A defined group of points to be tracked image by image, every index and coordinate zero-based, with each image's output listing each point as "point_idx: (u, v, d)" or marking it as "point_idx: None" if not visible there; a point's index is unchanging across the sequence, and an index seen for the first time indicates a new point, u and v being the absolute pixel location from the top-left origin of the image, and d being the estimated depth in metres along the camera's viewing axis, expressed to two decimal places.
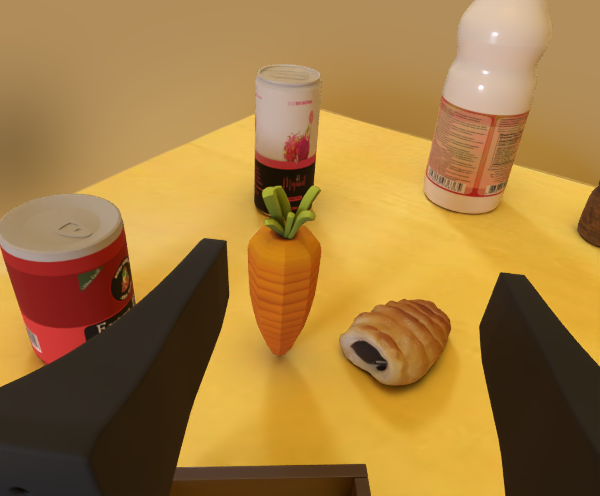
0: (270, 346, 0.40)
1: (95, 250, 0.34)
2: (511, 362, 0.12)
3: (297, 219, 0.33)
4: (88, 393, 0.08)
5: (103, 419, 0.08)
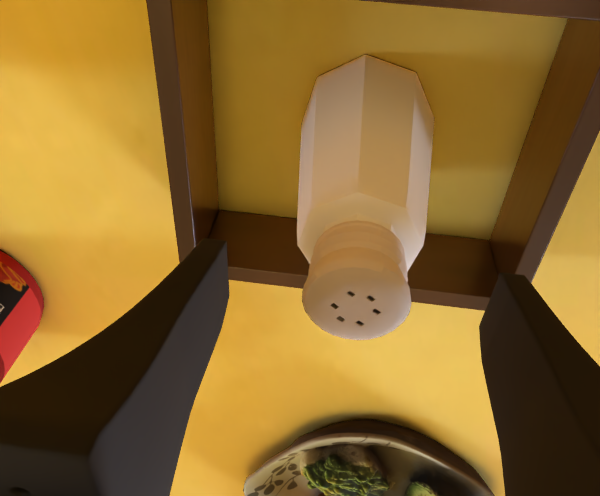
0: None
1: None
2: (511, 362, 0.12)
3: None
4: (88, 394, 0.08)
5: (103, 419, 0.08)
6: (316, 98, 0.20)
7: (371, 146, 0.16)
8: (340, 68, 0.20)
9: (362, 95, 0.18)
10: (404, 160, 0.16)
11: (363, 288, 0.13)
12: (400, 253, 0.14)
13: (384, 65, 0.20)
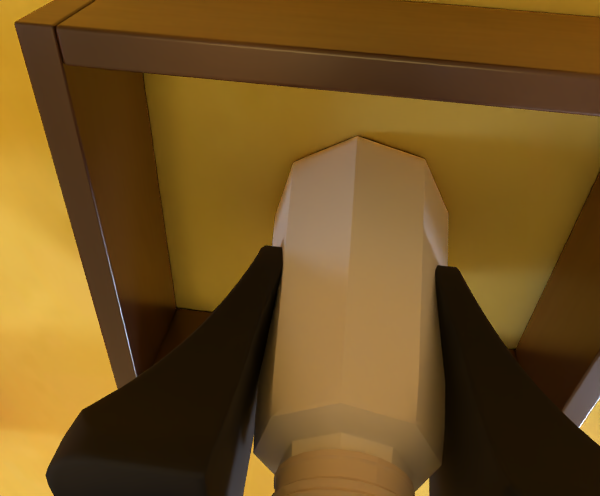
0: None
1: None
2: None
3: None
4: (187, 407, 0.08)
5: (210, 434, 0.08)
6: (290, 198, 0.14)
7: (364, 303, 0.11)
8: (323, 153, 0.15)
9: (351, 207, 0.13)
10: (412, 324, 0.11)
11: None
12: None
13: (383, 151, 0.15)
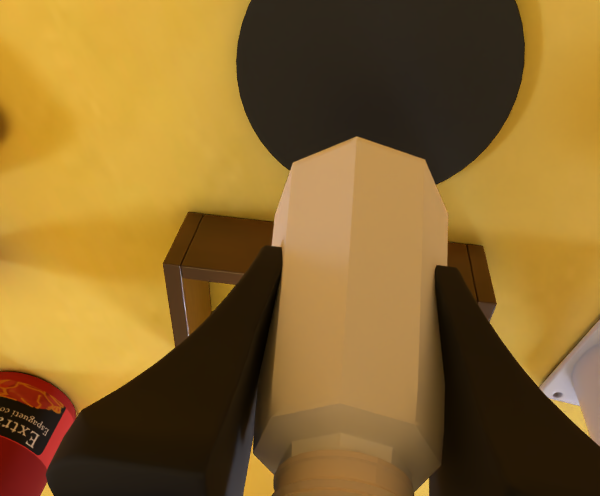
0: None
1: None
2: None
3: None
4: (186, 407, 0.08)
5: (211, 434, 0.08)
6: (290, 199, 0.14)
7: (363, 303, 0.11)
8: (323, 154, 0.15)
9: (350, 207, 0.13)
10: (411, 325, 0.11)
11: None
12: None
13: (382, 151, 0.15)
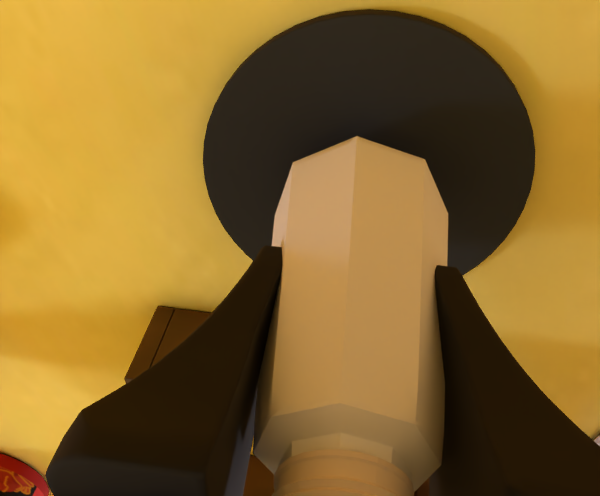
0: None
1: None
2: None
3: None
4: (186, 406, 0.08)
5: (210, 434, 0.08)
6: (290, 198, 0.14)
7: (363, 303, 0.11)
8: (323, 153, 0.15)
9: (351, 207, 0.13)
10: (412, 324, 0.11)
11: None
12: None
13: (382, 151, 0.15)
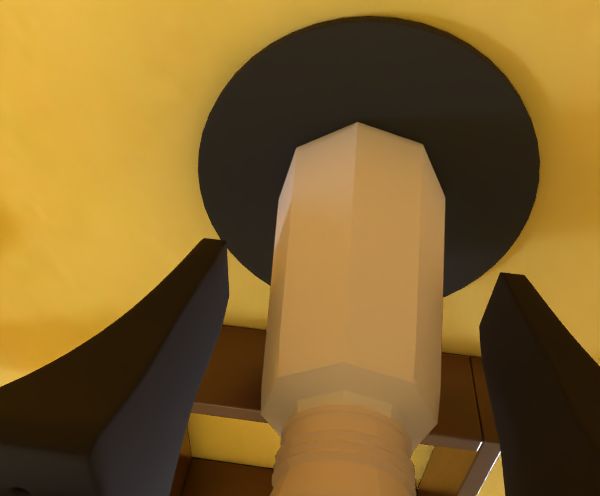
0: None
1: None
2: (511, 362, 0.12)
3: None
4: (88, 393, 0.08)
5: (103, 419, 0.08)
6: (294, 181, 0.15)
7: (364, 274, 0.12)
8: (325, 139, 0.16)
9: (352, 187, 0.13)
10: (410, 294, 0.11)
11: None
12: (405, 457, 0.10)
13: (382, 136, 0.15)
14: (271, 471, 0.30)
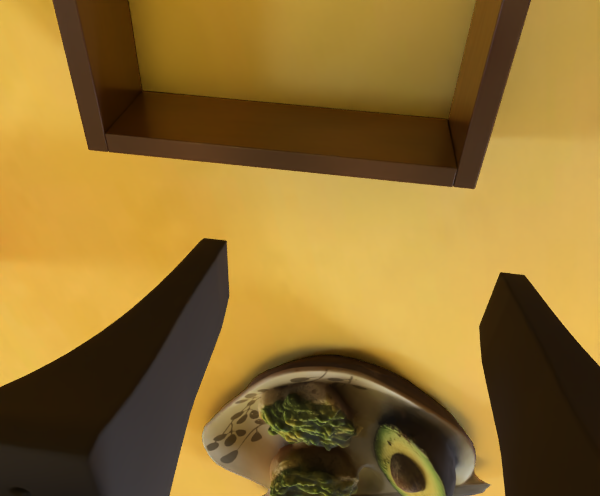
0: None
1: None
2: (511, 362, 0.12)
3: None
4: (88, 393, 0.08)
5: (103, 419, 0.08)
6: None
7: None
8: None
9: None
10: None
11: None
12: None
13: None
14: (249, 102, 0.22)
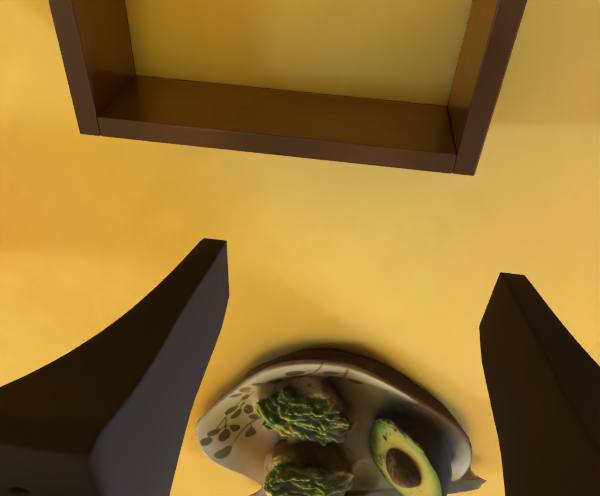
0: None
1: None
2: (511, 362, 0.12)
3: None
4: (87, 393, 0.08)
5: (103, 419, 0.08)
6: None
7: None
8: None
9: None
10: None
11: None
12: None
13: None
14: (244, 87, 0.22)
